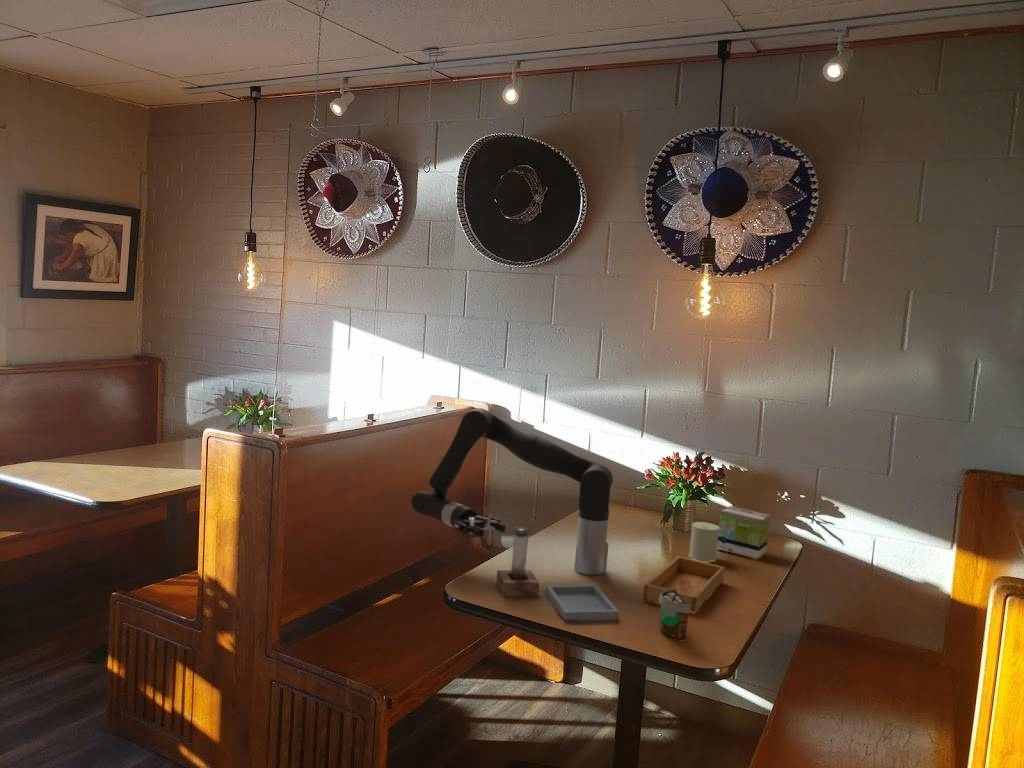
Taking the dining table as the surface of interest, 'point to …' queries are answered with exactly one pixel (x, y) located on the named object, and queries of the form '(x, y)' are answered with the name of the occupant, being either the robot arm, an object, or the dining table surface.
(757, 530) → the tea box
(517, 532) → the steel pin
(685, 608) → the food container
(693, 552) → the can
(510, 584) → the socket block
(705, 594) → the tray
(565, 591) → the pin tray
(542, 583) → the dining table surface
